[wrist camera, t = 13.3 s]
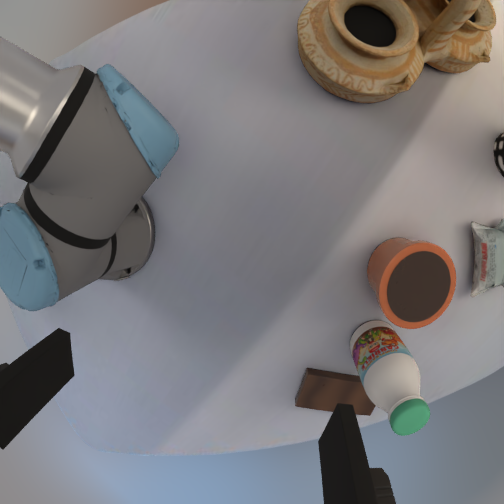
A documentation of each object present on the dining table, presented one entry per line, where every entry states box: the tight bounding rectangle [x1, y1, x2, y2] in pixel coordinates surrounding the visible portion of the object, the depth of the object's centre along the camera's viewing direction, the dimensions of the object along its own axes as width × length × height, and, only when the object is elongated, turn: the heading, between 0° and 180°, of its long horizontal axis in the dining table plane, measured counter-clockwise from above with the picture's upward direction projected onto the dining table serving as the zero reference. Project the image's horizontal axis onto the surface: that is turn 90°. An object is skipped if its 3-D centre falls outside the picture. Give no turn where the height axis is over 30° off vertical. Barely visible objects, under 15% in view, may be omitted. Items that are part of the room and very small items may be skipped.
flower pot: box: [367, 238, 456, 329], centre depth 38 cm, size 11×11×9 cm
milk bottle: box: [350, 320, 430, 435], centre depth 35 cm, size 8×8×20 cm
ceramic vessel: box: [297, 0, 496, 103], centre depth 23 cm, size 34×18×25 cm, turn 120°
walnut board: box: [295, 368, 376, 416], centre depth 46 cm, size 14×7×2 cm, turn 78°
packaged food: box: [471, 219, 504, 297], centre depth 38 cm, size 9×12×5 cm
